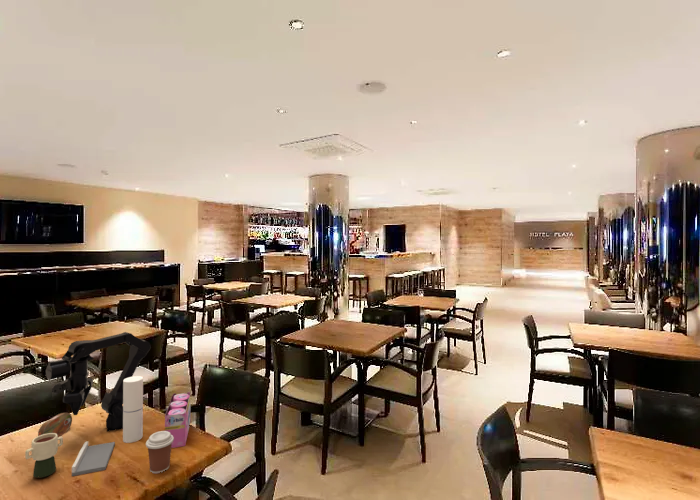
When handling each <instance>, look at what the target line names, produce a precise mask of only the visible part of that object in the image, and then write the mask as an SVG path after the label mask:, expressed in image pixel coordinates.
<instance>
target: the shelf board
mask: <svg viewBox="0 0 700 500" xmlns="http://www.w3.org/2000/svg"><path fill="white" fill-rule="evenodd" d="M115 445H116V442H115V441H112V442H105V443H99V444H94V445H89V440H88V441H85V442H84V443H83V445H82V447H81V448H80V450H79V452H78V454H77V456H76V458H75V461H74V462H73V464H72V466H71V477H75V476H80V475H85V474H92V473H96V472H101V471H106V469H107V467H108V464H109V462H110V459H111V456H112V453H113V450H114V448H115Z"/></svg>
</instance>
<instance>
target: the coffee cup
mask: <svg viewBox="0 0 700 500" xmlns="http://www.w3.org/2000/svg"><path fill="white" fill-rule="evenodd" d="M173 440H174V437H173V435H171V433H170V432H168V431H165V430H161V431H159V430H158V431H155V432H154V433H152V434H150V436H149V437H148V439H147V440H146V442H145V447H146V448H147V450H148V461H149V471H150V473H151V472H152V473H151V474H161V473H163V471H164V472H166V471H167V470H168V469H170V466H171V465H170V464H171V456H172V455H171V452H172V448H171V445H172V442H173ZM165 470H166V471H165ZM160 472H161V473H160Z"/></svg>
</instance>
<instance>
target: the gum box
mask: <svg viewBox="0 0 700 500" xmlns="http://www.w3.org/2000/svg"><path fill="white" fill-rule="evenodd" d="M191 409H192V408H191V392H190V391H187V392H186V393H173V394H172V395H171V397H170V401H169V405H168V407H167V410H166V412H165V414H164V431H168V432H170V433H171V435H173V437H174V440H173V442H172V445H171V449H172V448H173V449H174V448H179V447H185V446H186V443H187V441H188V440H187V438H188V435H189V434H188V433H189V430H190V426H191V416H192V415H191ZM189 425H190V426H189Z"/></svg>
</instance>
